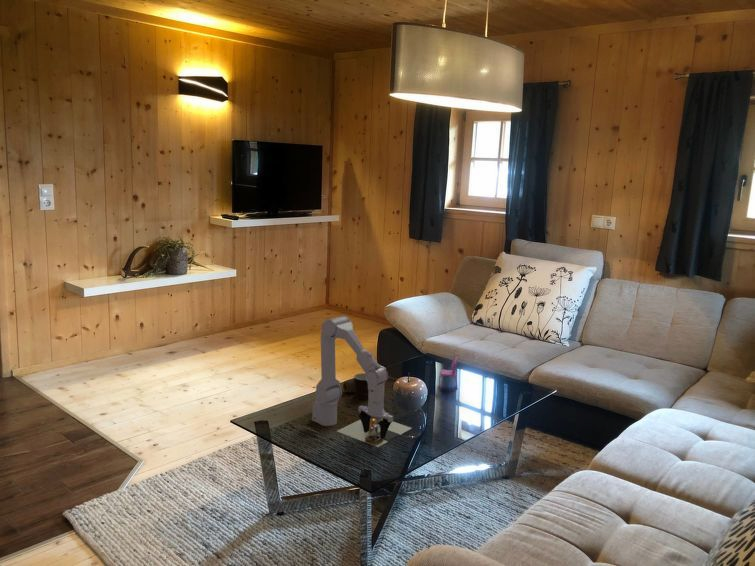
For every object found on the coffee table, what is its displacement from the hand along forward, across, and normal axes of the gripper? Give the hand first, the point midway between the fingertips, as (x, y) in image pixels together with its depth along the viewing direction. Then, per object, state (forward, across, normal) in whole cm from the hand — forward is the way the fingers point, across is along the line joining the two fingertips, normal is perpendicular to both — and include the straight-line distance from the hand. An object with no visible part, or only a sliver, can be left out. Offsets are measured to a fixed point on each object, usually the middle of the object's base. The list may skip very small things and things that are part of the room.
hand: (374, 434), depth 226 cm
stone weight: (+4, +38, -38) cm, 53 cm away
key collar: (+2, 0, 0) cm, 3 cm away
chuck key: (+2, 0, 0) cm, 3 cm away
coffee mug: (+3, +30, -33) cm, 45 cm away
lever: (+2, +6, -7) cm, 10 cm away
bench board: (+3, +6, -8) cm, 11 cm away
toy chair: (+3, +10, -70) cm, 71 cm away
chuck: (+2, +10, -13) cm, 17 cm away
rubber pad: (+2, 0, -7) cm, 7 cm away
